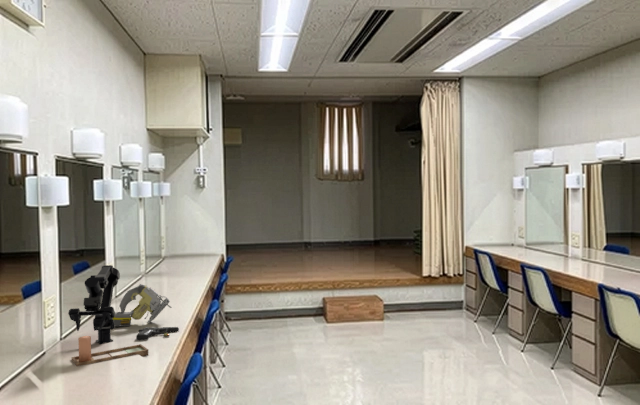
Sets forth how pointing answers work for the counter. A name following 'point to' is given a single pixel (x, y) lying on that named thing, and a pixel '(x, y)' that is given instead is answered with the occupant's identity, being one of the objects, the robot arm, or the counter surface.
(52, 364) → the counter surface
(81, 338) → the smooth tapered peach-colored object
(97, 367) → the counter surface
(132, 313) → the circular saw
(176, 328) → the pistol
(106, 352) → the box
